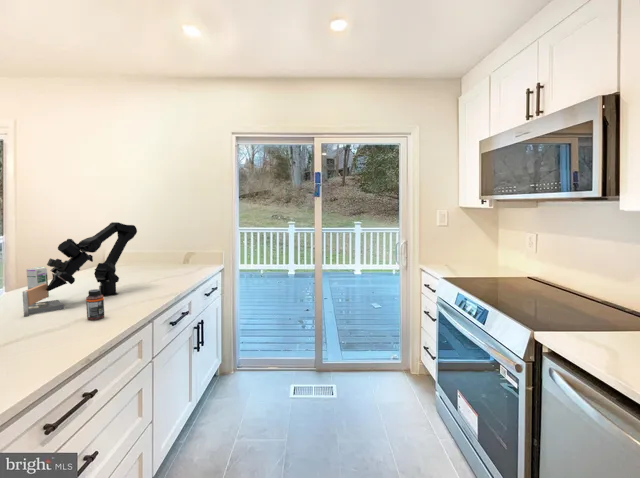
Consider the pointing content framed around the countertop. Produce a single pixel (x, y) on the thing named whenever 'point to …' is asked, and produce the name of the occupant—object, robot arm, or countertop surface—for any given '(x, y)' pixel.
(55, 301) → the plate
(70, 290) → the countertop surface
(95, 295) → the supplement bottle
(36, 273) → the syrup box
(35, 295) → the peach rectangular plank
